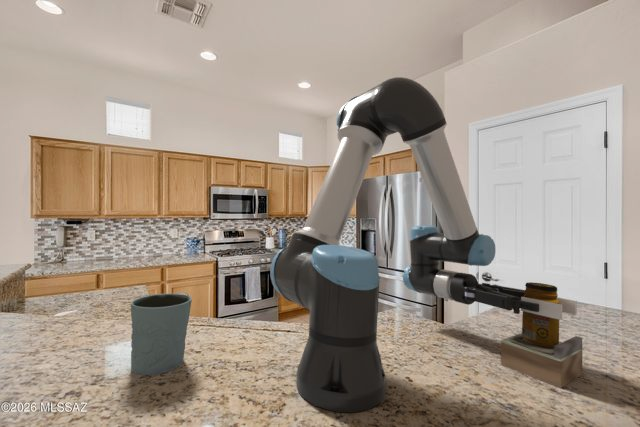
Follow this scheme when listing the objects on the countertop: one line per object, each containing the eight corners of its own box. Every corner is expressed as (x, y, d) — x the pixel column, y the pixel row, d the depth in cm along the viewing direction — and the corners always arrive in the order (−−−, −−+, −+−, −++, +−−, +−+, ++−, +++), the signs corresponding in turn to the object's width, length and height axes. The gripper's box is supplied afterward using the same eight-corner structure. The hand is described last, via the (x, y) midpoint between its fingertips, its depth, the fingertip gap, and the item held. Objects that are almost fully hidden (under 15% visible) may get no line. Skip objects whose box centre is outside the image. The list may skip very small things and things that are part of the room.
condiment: (567, 347, 58) (568, 286, 59) (550, 354, 53) (551, 289, 54) (526, 334, 64) (527, 280, 65) (507, 340, 59) (508, 282, 60)
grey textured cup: (177, 348, 61) (181, 291, 62) (196, 366, 54) (200, 301, 54) (120, 362, 54) (125, 297, 55) (133, 385, 47) (138, 310, 47)
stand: (560, 388, 51) (560, 348, 52) (501, 364, 60) (501, 330, 60) (582, 373, 57) (582, 337, 58) (525, 354, 66) (525, 322, 66)
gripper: (477, 297, 80) (586, 322, 61) (432, 305, 69) (547, 338, 50) (477, 270, 80) (586, 286, 61) (433, 274, 70) (547, 294, 50)
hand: (568, 309), depth 56 cm, fingers open, 7 cm apart
